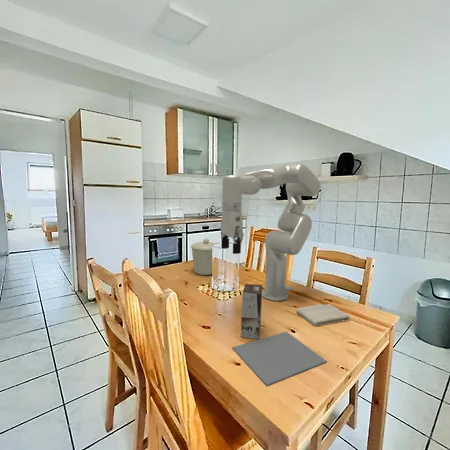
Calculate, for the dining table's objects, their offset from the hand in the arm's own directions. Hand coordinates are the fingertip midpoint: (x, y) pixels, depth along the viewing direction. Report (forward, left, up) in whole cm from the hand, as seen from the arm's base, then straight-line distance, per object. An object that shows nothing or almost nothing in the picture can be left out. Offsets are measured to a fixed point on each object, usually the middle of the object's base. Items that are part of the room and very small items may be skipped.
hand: (230, 250), depth 104 cm
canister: (-12, -52, -26) cm, 59 cm away
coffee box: (0, +16, -26) cm, 31 cm away
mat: (0, +31, -26) cm, 41 cm away
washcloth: (-33, +19, -27) cm, 47 cm away
